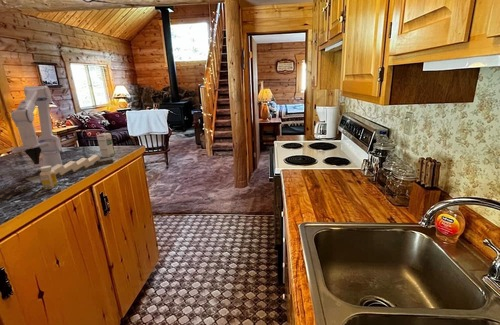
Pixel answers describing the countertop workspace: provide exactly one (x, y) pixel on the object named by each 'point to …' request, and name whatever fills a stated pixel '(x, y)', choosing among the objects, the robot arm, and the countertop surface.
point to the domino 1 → (58, 168)
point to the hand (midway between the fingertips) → (36, 163)
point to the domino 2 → (68, 167)
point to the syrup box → (105, 144)
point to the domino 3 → (80, 164)
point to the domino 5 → (103, 161)
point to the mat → (38, 178)
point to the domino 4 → (91, 160)
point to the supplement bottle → (48, 177)
